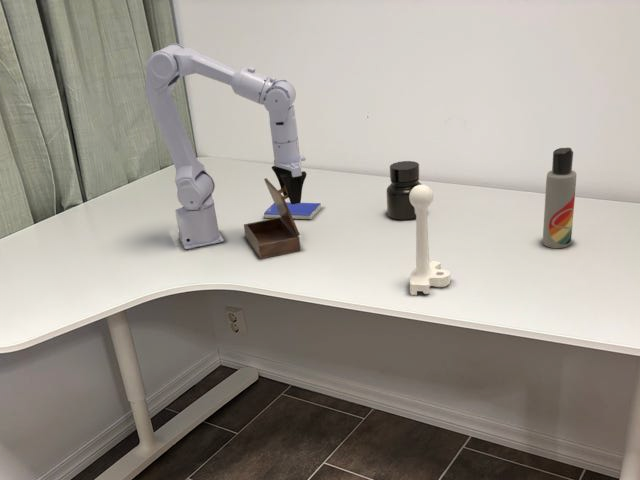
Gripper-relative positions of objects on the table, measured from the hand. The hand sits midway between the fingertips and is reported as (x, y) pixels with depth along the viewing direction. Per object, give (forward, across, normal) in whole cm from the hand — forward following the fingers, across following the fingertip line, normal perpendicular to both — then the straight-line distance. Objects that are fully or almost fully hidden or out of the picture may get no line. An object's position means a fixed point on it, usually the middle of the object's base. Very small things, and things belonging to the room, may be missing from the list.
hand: (292, 199), depth 177 cm
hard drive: (+10, +17, -4) cm, 20 cm away
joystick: (+10, -37, -17) cm, 42 cm away
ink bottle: (+10, +1, -28) cm, 30 cm away
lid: (+1, 0, +3) cm, 3 cm away
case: (+10, 0, +6) cm, 11 cm away
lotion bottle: (+10, -32, -48) cm, 59 cm away
